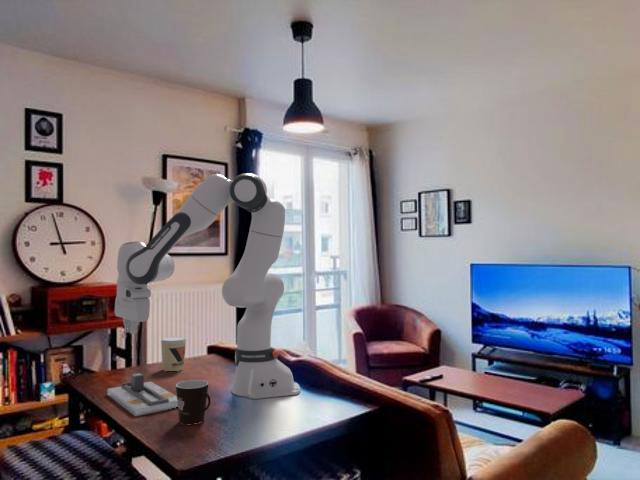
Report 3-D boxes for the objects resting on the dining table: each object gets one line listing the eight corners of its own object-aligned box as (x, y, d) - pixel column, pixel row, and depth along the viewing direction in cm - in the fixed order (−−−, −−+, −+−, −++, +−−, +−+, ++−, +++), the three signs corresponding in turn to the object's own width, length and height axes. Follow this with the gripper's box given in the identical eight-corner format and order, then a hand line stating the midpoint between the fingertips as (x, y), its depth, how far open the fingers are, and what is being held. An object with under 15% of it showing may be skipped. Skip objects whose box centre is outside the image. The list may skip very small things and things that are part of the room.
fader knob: (130, 388, 156) (131, 374, 156) (139, 386, 158) (139, 372, 158) (134, 390, 153) (134, 376, 154) (143, 389, 155) (143, 374, 155)
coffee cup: (171, 373, 184) (172, 341, 184) (155, 370, 189) (155, 339, 190) (190, 368, 192) (191, 338, 192) (174, 365, 197) (175, 335, 197)
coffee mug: (173, 418, 135) (173, 381, 135) (205, 414, 139) (205, 378, 139) (179, 432, 125) (179, 393, 125) (213, 427, 128) (213, 389, 128)
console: (107, 394, 157) (107, 385, 157) (150, 387, 165) (150, 378, 166) (135, 416, 136) (135, 405, 137) (183, 406, 145) (183, 396, 145)
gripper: (110, 289, 167) (109, 330, 167) (134, 293, 152) (133, 337, 152) (128, 288, 172) (127, 328, 171) (153, 292, 157) (152, 335, 156)
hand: (130, 332), depth 162 cm, fingers open, 3 cm apart
